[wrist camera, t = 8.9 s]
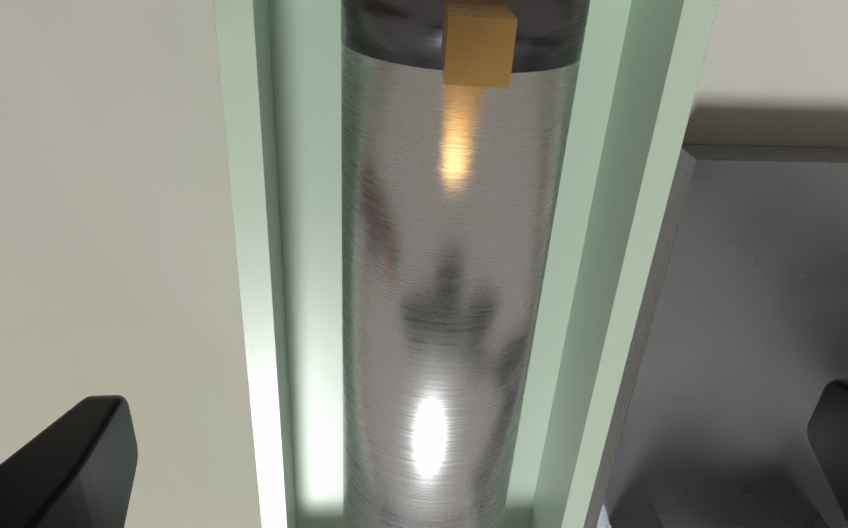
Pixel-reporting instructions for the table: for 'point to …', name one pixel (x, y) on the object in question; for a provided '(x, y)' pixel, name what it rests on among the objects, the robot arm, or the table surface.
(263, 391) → the tray
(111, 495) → the robot arm
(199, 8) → the table surface
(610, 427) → the bracket
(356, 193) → the silver oval rod
